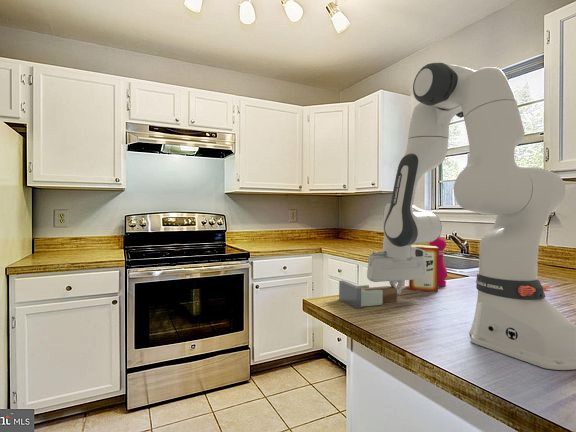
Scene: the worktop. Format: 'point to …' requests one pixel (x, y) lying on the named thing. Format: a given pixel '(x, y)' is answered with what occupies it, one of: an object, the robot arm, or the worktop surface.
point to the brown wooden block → (386, 293)
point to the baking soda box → (428, 270)
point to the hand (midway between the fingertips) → (396, 294)
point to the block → (370, 296)
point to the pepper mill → (440, 260)
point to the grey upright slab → (350, 294)
